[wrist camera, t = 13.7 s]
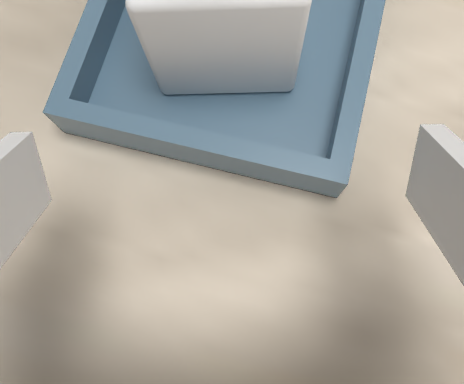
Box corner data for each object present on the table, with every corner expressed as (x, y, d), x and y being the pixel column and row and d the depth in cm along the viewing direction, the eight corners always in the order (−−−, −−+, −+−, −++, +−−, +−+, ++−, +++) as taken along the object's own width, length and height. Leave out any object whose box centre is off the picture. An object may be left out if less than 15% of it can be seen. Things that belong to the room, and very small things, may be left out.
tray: (64, 132, 23) (42, 112, 21) (147, -83, 27) (137, -122, 24) (336, 197, 21) (347, 184, 19) (386, -40, 25) (400, -77, 23)
